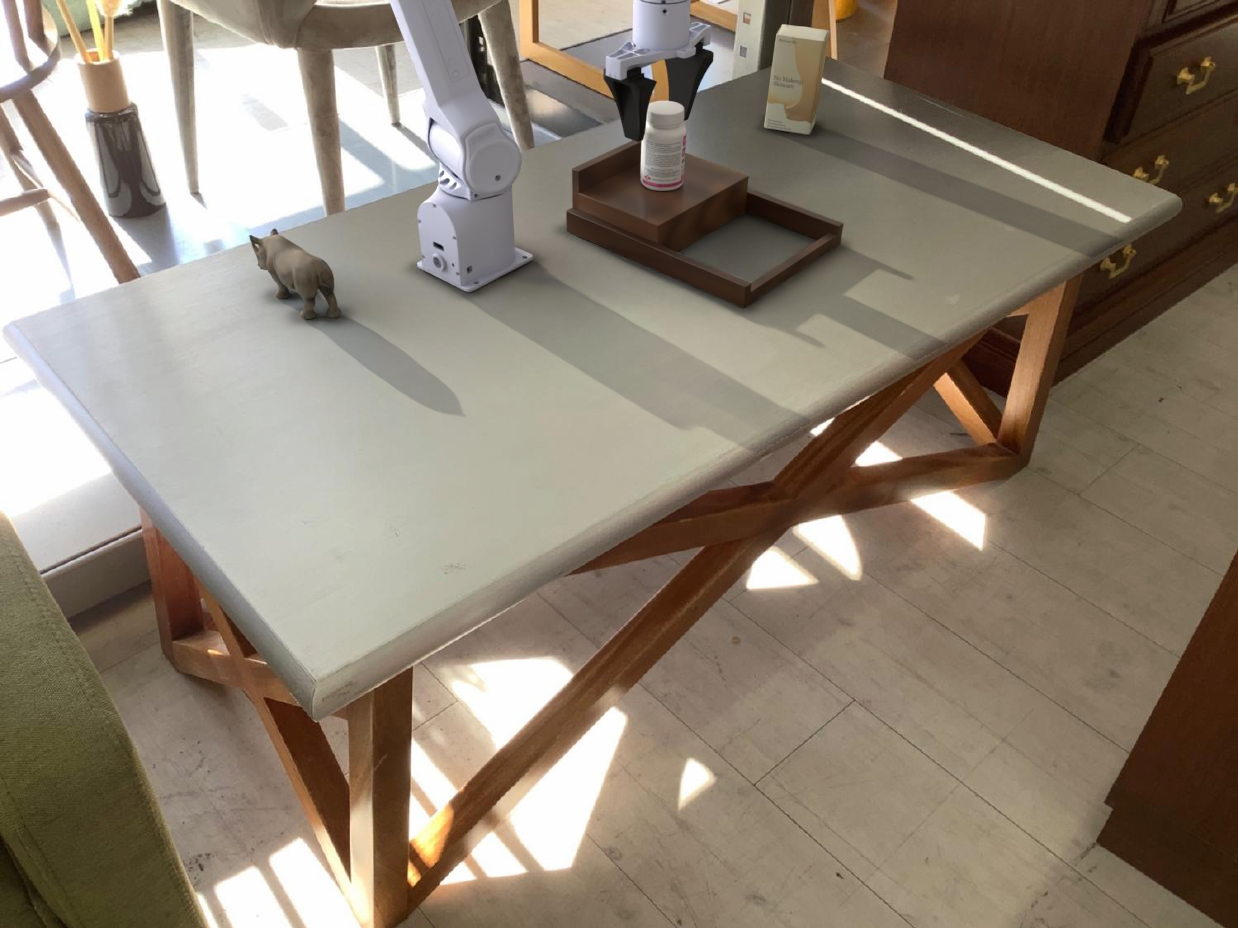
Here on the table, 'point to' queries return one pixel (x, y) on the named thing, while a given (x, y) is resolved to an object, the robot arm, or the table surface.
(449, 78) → the robot arm
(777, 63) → the cosmetic box
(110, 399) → the table surface
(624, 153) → the step rack
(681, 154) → the pill bottle
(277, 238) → the rhino figurine
